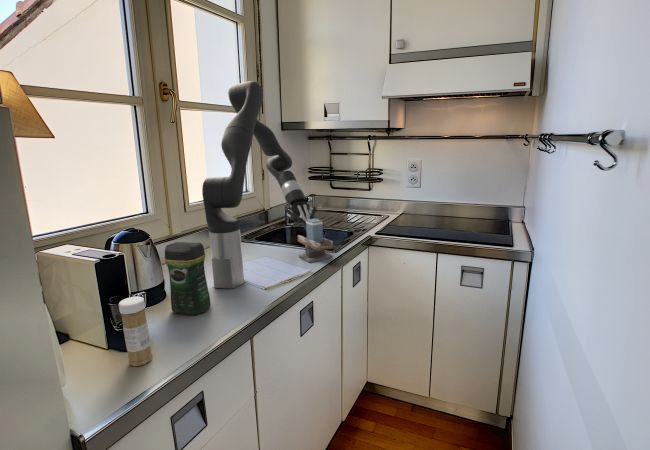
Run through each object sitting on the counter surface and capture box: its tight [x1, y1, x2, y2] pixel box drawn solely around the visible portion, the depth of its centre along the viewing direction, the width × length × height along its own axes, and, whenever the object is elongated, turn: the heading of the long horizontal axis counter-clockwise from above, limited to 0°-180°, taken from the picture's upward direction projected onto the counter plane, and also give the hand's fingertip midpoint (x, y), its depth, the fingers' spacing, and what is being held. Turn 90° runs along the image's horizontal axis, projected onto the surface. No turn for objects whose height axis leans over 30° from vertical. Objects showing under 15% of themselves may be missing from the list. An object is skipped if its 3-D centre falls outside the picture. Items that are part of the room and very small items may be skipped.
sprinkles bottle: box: [118, 296, 153, 367], centre depth 77 cm, size 5×5×14 cm
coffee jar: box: [164, 241, 212, 316], centre depth 99 cm, size 10×8×19 cm
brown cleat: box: [297, 234, 334, 264], centre depth 141 cm, size 16×10×8 cm, turn 32°
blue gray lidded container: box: [305, 218, 324, 243], centre depth 140 cm, size 5×4×8 cm
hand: (310, 230), depth 142 cm, fingers closed
